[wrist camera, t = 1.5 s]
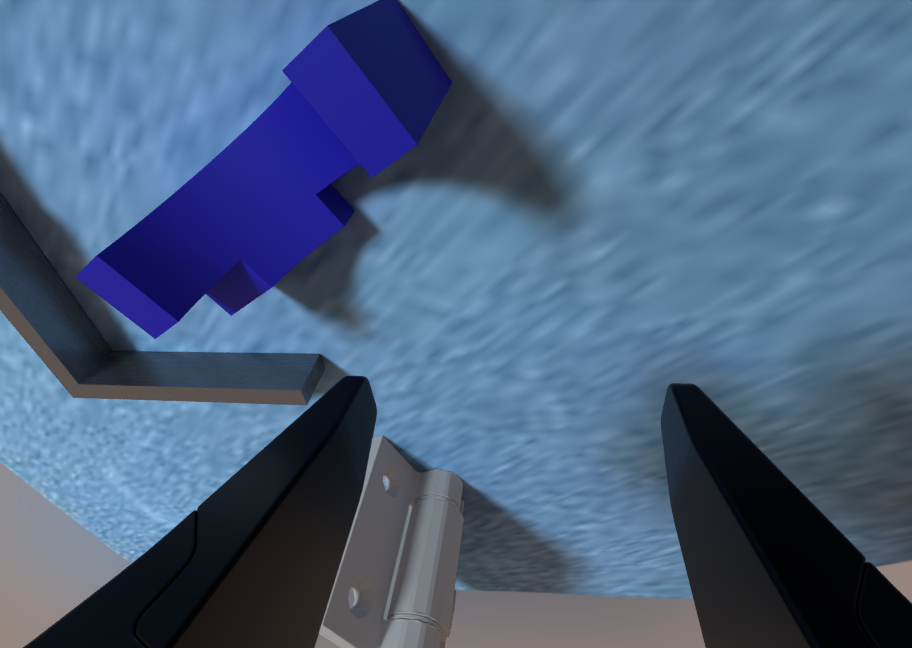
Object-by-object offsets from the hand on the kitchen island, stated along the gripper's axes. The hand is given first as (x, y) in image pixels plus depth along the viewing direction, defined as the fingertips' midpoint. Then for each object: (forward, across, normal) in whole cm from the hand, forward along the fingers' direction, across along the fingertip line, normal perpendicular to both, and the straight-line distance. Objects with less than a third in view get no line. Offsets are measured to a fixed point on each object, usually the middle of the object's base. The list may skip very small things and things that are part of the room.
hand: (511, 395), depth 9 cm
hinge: (+11, +7, +22) cm, 26 cm away
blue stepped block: (+11, +8, 0) cm, 14 cm away
